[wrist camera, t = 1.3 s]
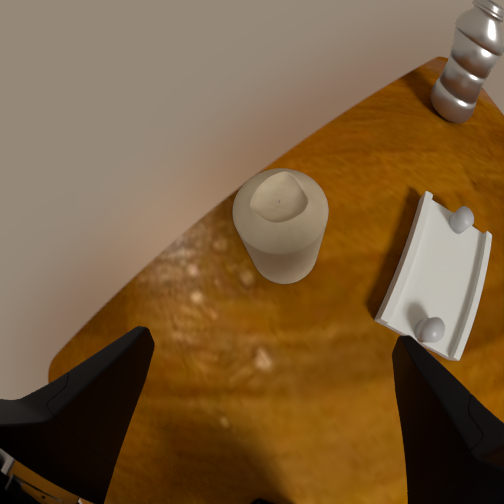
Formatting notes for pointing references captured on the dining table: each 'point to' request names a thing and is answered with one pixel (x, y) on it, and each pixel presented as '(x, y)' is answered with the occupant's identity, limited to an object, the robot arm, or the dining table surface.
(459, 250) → the tray
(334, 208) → the dining table surface
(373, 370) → the dining table surface
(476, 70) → the plastic bottle
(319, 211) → the candle
